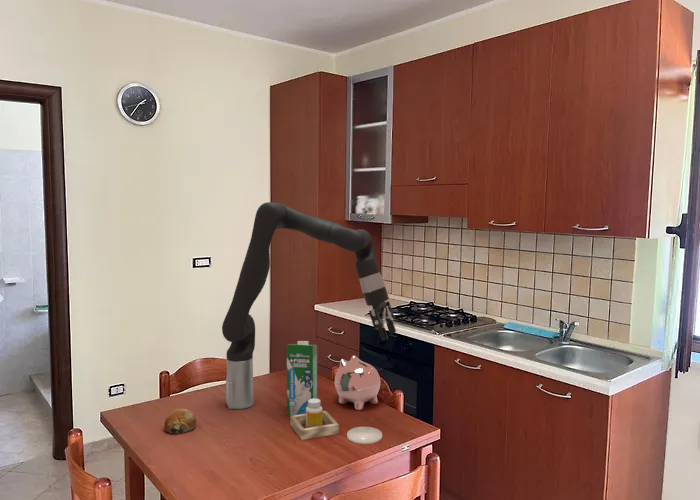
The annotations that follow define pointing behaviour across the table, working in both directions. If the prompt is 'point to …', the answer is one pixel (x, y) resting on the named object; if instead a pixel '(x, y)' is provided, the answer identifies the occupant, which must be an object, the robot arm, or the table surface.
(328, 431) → the frame
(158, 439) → the table surface
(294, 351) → the milk carton
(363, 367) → the piggy bank
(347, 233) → the robot arm
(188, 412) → the bread roll
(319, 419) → the supplement bottle
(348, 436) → the coaster
